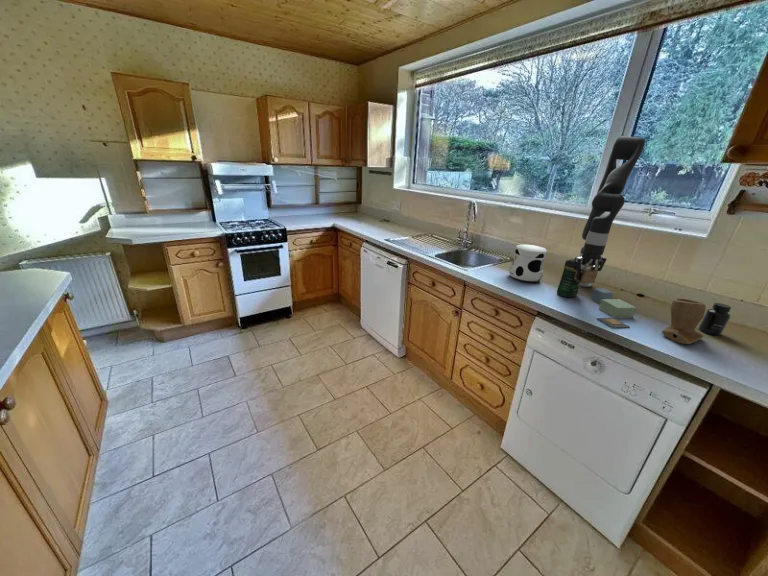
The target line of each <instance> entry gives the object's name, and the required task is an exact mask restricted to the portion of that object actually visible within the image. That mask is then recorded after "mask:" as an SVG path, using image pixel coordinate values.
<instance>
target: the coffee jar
mask: <svg viewBox="0 0 768 576" xmlns="http://www.w3.org/2000/svg"><path fill="white" fill-rule="evenodd" d="M574 261H575V258H571V259H567V260H565V262H564V266H563V271H562V275H561V278H560V280H559V284H558V287H557V290H556V293H557V294H558V295H559V296H561V297H564V298H565V297H566V298H568V299H569V298H575V297H576V296H578V292H579V289H580V287H581V286H580V282H579V281H577V280H575V279H574V278H575V274H576V270H574ZM583 265H584V264H583ZM584 266H585V265H584Z"/></svg>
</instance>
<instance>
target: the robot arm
mask: <svg viewBox="0 0 768 576" xmlns="http://www.w3.org/2000/svg"><path fill="white" fill-rule="evenodd" d="M645 143H646V140H645V138H644V137H638V136H625V135H623V136H621V135H619V136H617V137H616V139H615V140H614V141H613V144H612V146H611V150H610V153H609V157H608V160H607V164H606V167H605V171H604V173H603V177H602V178H601V182H600V184H599V186H598V189H597V191H596V195H595V196H594V197H593V199H592V201H591V211H590V213H589V215H588V218H587V221H586V222H585V224H584V227H583V230H582V233H581V235H582V236H581V238H582V240H584V241H585V242H584V245H583V246H582V247H581V249H580V253H579V256H575V257H574V259H575V261H574V270H576V271H577V275H576V280H578V281H581V278H582V275H583V271H584V270H585V269H586V268H587V267H589V268H591V269H594V270H596V271H598V272H601V271H602V269H603V267H604V265H605V263H606V262H607V257H603V255H604V252H605V248H606V246H607V242H608V239H609V234H610V232H611V231H610V230H611V228H612V225H613V222H614V221H615V219H616V217H617V215H618V214H619V212H620V211H621V210H622V208H623V207H624V204H625V202H626V201H625V196H624V195H622V193H623V191H624V189H625V187H626V184H627V182H628V178H629V177H630V175H631V173H632V171H633V169H634V168H635V166H636V165H637V163H638V161H639V159H640V157H641V155H642V152H643V150H644V147H645ZM617 160H618V161H619V160H620V161H621V160H622V161H625V162H624V163H622V164H620V165H619V166H617ZM605 213H609V214H608V215H605V216H602V215H603V214H605ZM583 264H584V265H585V266H584V265H583ZM582 267H583V268H582ZM581 268H582V269H581ZM592 284H593V283H584V284H583V283H581V282H580V286H579V287H584V288H585V287H587V288H588V287H589V288H590V287H591V286H592Z"/></svg>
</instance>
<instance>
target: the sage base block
mask: <svg viewBox="0 0 768 576" xmlns="http://www.w3.org/2000/svg"><path fill="white" fill-rule="evenodd" d="M598 310H600V311H601V310H602V311H601V312H603V313H605V314H607V315H608V316H610V317H614V318H615V319H623V318H624V319H625V318H627V319H629V318H630V319H632V318H634V315H635V312H636V310H637V307H636V306H634V305H632V304H630V303H628V302H626V301H625V300H622V299H620V298H611V299H602V300H601V303H599V307H598Z"/></svg>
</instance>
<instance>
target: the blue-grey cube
mask: <svg viewBox="0 0 768 576" xmlns="http://www.w3.org/2000/svg"><path fill="white" fill-rule="evenodd" d="M613 294H614V292H612V291H610V290H609V289H606V288H604V287H602V288H598V287H597V288H593V290H592V294H591V296H590V299H591V300H592V301H594V302H596V303H598V304H600V303H601V300H602V299H612V297H613Z"/></svg>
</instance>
